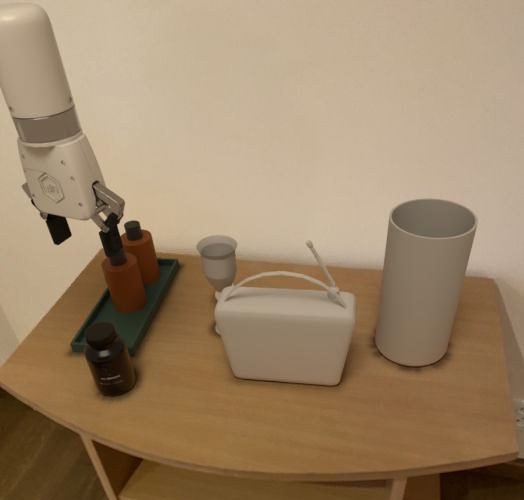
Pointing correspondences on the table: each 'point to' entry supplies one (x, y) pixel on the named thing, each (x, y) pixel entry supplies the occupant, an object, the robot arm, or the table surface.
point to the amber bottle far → (141, 251)
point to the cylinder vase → (422, 278)
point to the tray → (133, 323)
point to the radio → (287, 330)
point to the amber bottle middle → (124, 282)
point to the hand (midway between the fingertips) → (88, 246)
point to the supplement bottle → (108, 359)
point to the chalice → (218, 261)
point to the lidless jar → (218, 294)
